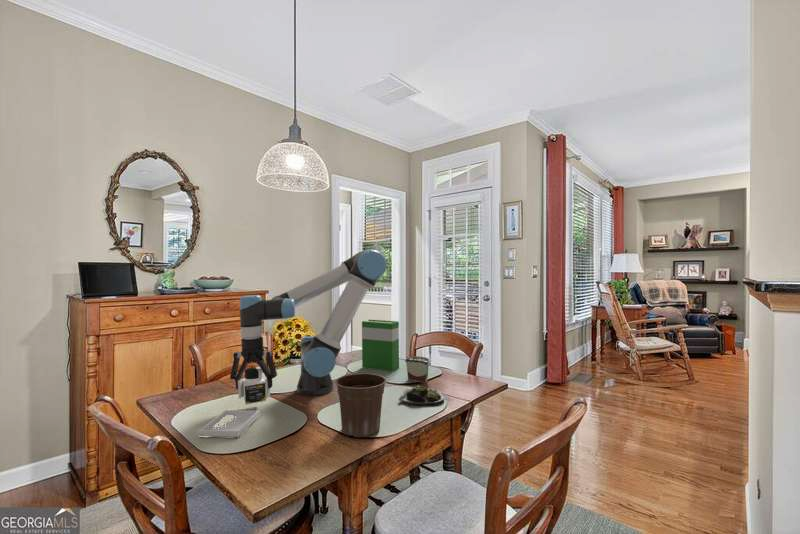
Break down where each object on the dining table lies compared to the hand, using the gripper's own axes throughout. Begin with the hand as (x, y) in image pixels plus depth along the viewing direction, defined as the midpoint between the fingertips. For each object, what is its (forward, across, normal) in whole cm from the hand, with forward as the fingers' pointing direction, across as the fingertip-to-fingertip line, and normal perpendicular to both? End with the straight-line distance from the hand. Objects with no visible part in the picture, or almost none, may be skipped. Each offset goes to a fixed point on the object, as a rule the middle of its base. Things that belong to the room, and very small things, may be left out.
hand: (254, 396), depth 140 cm
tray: (+4, +1, +16) cm, 16 cm away
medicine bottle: (+1, 0, 0) cm, 1 cm away
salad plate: (+7, -62, -11) cm, 63 cm away
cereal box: (+6, -42, -56) cm, 70 cm away
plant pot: (+6, -42, +17) cm, 46 cm away
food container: (+7, -62, -36) cm, 72 cm away
